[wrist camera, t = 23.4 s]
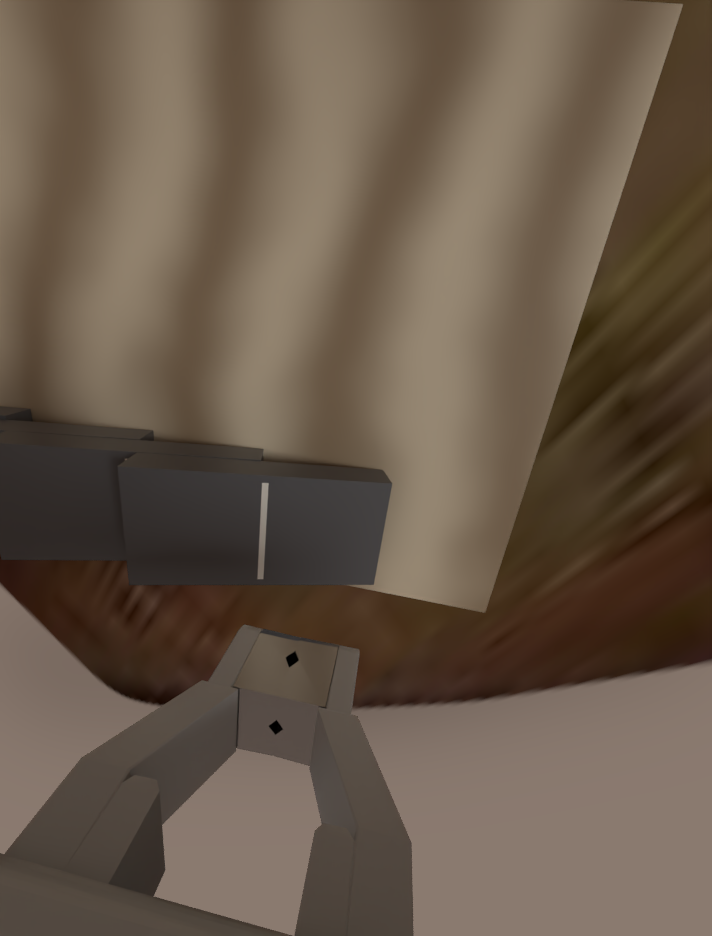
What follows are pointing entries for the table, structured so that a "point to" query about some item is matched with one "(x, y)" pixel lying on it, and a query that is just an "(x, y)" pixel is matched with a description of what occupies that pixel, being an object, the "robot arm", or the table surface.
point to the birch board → (320, 234)
